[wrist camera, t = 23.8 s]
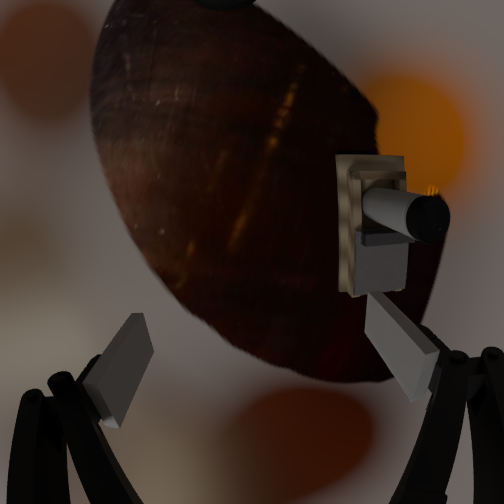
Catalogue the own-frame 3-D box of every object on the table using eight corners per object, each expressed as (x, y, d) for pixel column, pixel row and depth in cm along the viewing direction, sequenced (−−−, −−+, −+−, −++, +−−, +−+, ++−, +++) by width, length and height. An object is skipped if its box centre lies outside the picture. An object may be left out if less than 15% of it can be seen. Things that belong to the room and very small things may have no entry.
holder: (335, 154, 48) (342, 153, 44) (401, 156, 48) (411, 155, 44) (338, 290, 55) (344, 298, 51) (398, 282, 55) (407, 289, 51)
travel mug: (378, 179, 48) (443, 186, 29) (393, 209, 50) (458, 230, 31) (352, 195, 49) (410, 211, 30) (368, 226, 51) (427, 256, 32)
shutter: (354, 230, 48) (362, 235, 44) (407, 226, 48) (417, 231, 44) (352, 294, 51) (360, 302, 47) (402, 287, 51) (412, 294, 47)
